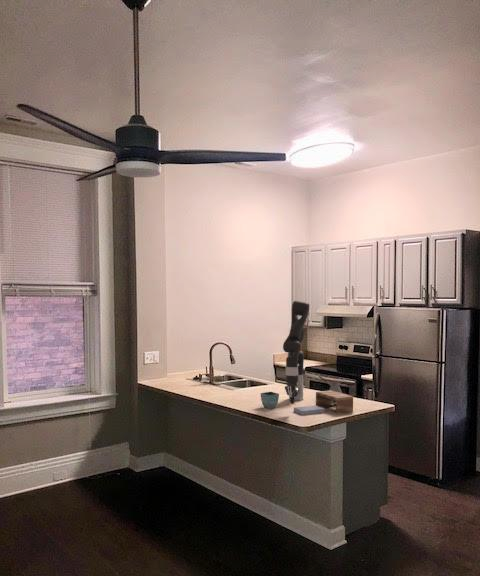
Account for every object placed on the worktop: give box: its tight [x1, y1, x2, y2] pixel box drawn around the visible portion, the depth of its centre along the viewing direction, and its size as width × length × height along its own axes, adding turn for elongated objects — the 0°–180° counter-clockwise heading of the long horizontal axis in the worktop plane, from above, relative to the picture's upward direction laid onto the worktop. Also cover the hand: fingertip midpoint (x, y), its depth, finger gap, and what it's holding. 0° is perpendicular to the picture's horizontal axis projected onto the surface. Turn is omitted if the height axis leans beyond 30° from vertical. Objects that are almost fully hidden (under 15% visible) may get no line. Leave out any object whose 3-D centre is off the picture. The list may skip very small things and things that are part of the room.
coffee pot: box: [317, 375, 343, 403], centre depth 344 cm, size 21×12×15 cm, turn 38°
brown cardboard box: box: [315, 389, 354, 415], centre depth 314 cm, size 22×12×10 cm, turn 28°
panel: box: [293, 404, 326, 416], centre depth 306 cm, size 10×16×3 cm, turn 115°
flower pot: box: [259, 391, 280, 409], centre depth 318 cm, size 9×9×9 cm
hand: (291, 403), depth 299 cm, fingers closed
